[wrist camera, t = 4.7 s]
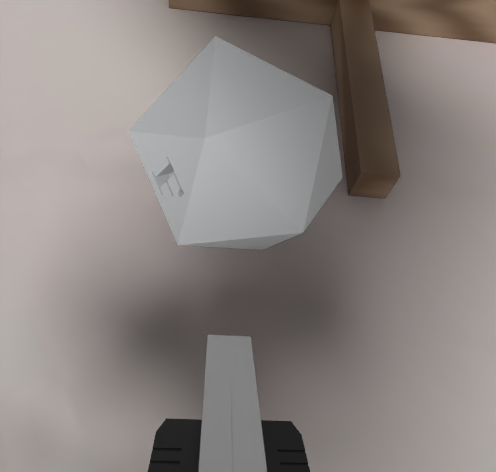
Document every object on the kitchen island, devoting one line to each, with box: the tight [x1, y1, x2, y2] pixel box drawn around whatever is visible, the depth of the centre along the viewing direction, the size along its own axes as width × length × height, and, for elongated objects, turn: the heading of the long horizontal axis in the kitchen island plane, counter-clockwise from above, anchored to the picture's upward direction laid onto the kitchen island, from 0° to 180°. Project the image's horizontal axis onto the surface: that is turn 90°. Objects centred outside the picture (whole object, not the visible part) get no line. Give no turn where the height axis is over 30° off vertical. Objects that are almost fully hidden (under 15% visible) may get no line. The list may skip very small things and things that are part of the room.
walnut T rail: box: [169, 0, 496, 198], centre depth 25 cm, size 24×16×3 cm, turn 89°
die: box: [128, 36, 343, 250], centre depth 19 cm, size 8×9×10 cm
